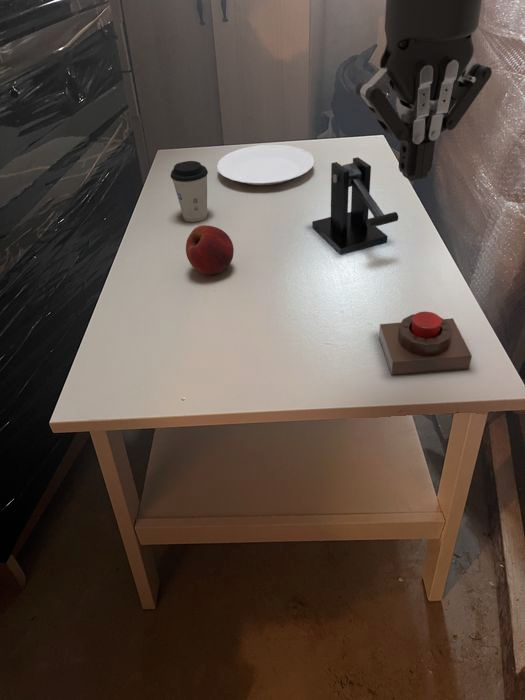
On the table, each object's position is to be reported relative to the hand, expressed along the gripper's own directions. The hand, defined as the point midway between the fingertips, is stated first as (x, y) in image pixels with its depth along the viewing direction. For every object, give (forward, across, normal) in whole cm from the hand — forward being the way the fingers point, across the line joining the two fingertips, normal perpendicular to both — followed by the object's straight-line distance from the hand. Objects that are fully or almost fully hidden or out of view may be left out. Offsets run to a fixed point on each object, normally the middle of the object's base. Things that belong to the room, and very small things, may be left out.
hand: (414, 176), depth 57 cm
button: (+23, +7, +3) cm, 24 cm away
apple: (+27, -12, +36) cm, 47 cm away
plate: (+27, +11, +69) cm, 75 cm away
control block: (+27, +6, +3) cm, 28 cm away
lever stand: (+27, +13, +36) cm, 47 cm away
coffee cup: (+27, -9, +56) cm, 63 cm away
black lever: (+19, +13, +32) cm, 39 cm away
